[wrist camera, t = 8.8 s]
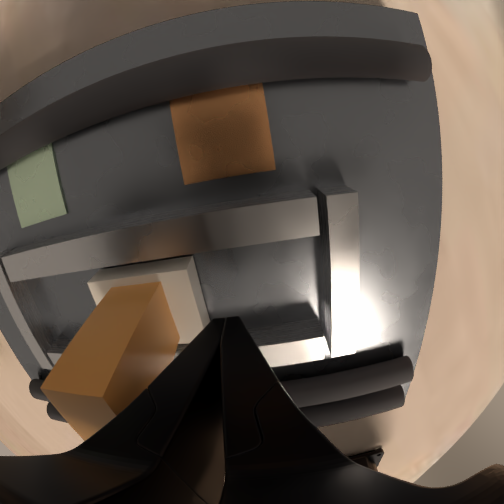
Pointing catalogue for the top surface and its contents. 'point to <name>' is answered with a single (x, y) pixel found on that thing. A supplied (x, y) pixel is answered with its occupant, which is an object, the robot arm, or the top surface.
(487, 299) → the top surface
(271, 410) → the robot arm
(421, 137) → the panel
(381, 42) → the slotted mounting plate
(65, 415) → the breaker lever
